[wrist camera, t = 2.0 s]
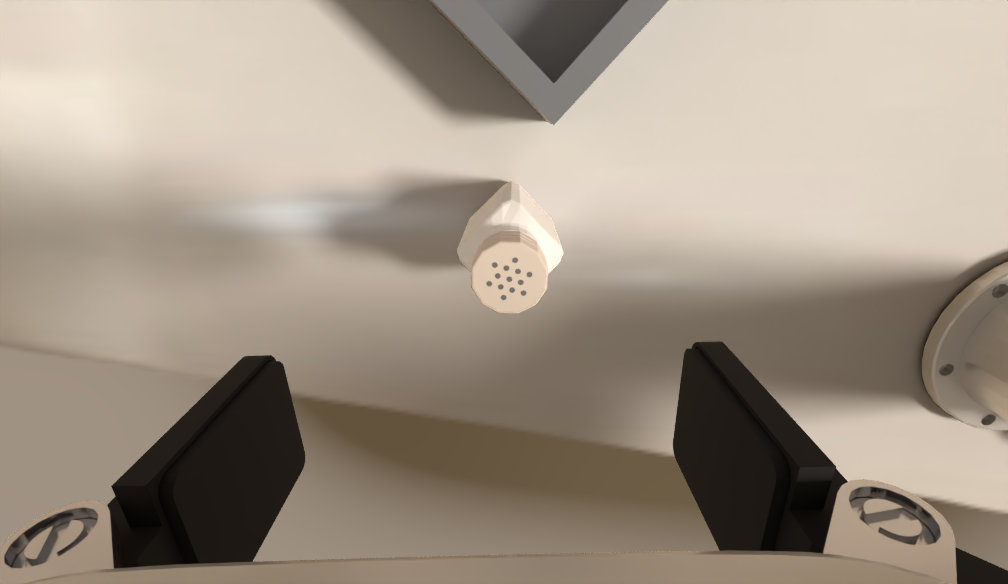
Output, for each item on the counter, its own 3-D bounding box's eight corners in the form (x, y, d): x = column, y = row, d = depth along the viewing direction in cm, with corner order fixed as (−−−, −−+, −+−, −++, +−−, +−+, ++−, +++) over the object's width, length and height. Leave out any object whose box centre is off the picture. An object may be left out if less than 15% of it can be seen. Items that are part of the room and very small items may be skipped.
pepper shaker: (463, 222, 28) (439, 277, 19) (511, 175, 27) (510, 209, 18) (509, 268, 29) (508, 341, 20) (558, 224, 28) (579, 280, 19)
